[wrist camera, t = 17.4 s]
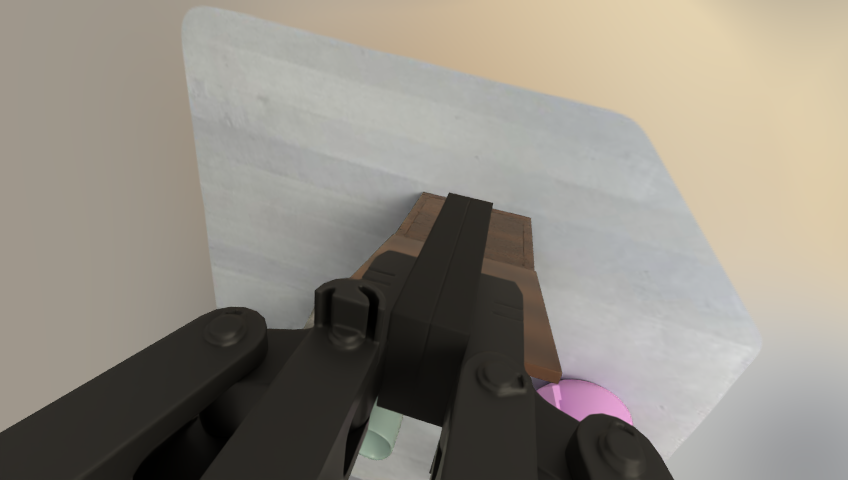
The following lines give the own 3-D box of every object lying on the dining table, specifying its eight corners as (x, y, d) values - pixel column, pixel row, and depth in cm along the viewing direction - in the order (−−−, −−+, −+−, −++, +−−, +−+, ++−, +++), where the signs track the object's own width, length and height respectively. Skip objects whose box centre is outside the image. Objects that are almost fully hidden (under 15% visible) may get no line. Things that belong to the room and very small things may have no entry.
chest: (501, 304, 53) (496, 373, 41) (408, 278, 54) (379, 338, 43) (530, 217, 46) (534, 272, 34) (423, 191, 47) (393, 235, 36)
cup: (362, 394, 69) (339, 444, 60) (378, 371, 65) (356, 420, 56) (397, 414, 69) (380, 466, 60) (416, 392, 65) (400, 445, 56)
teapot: (495, 374, 59) (490, 444, 48) (591, 345, 52) (609, 418, 42) (559, 460, 65) (567, 539, 54) (653, 443, 58) (682, 529, 48)
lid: (558, 384, 20) (563, 373, 20) (322, 315, 22) (323, 303, 22) (533, 279, 34) (536, 271, 34) (391, 241, 36) (392, 234, 36)
